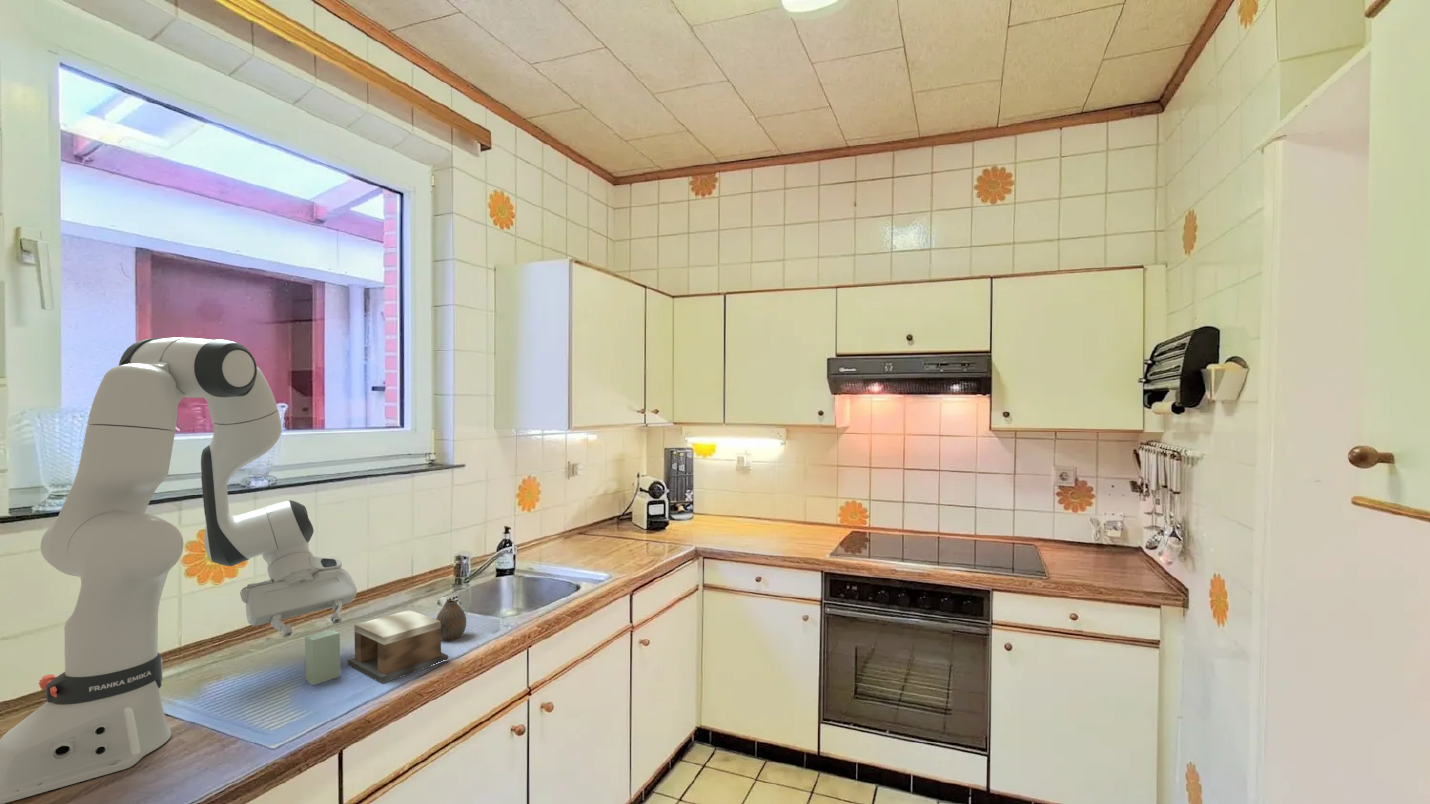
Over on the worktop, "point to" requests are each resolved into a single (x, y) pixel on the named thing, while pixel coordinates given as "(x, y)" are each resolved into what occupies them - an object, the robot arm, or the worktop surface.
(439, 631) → the bridge
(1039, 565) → the worktop surface
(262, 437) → the robot arm
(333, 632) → the block
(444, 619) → the vase
